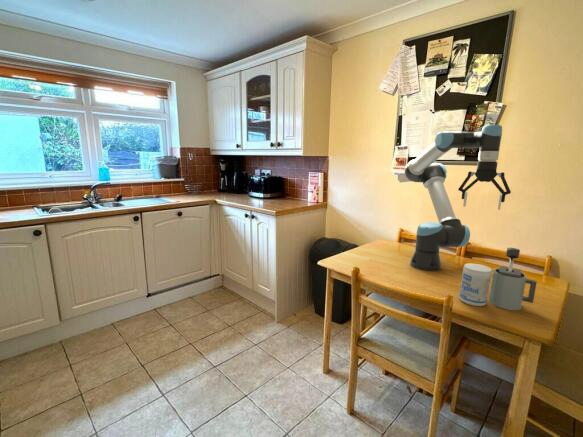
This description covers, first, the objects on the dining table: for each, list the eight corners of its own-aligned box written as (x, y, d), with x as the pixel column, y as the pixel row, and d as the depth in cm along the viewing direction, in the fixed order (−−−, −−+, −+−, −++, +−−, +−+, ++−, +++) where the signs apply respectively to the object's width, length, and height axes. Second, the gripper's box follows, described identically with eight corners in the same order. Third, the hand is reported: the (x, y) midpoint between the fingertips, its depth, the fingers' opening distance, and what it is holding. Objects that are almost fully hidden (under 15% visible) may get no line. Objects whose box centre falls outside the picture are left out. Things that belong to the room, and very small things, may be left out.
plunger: (493, 299, 117) (501, 249, 113) (494, 292, 123) (502, 245, 119) (517, 304, 113) (526, 253, 109) (517, 297, 119) (525, 248, 115)
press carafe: (487, 304, 117) (493, 271, 115) (490, 295, 126) (494, 264, 123) (531, 315, 109) (538, 280, 107) (531, 305, 117) (537, 271, 115)
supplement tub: (456, 301, 120) (461, 267, 117) (461, 294, 127) (465, 261, 124) (484, 309, 113) (490, 273, 111) (488, 301, 121) (493, 266, 118)
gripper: (455, 160, 137) (449, 205, 142) (522, 161, 123) (514, 211, 127) (457, 160, 143) (452, 204, 147) (522, 161, 129) (514, 209, 133)
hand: (481, 207), depth 137 cm, fingers open, 13 cm apart
